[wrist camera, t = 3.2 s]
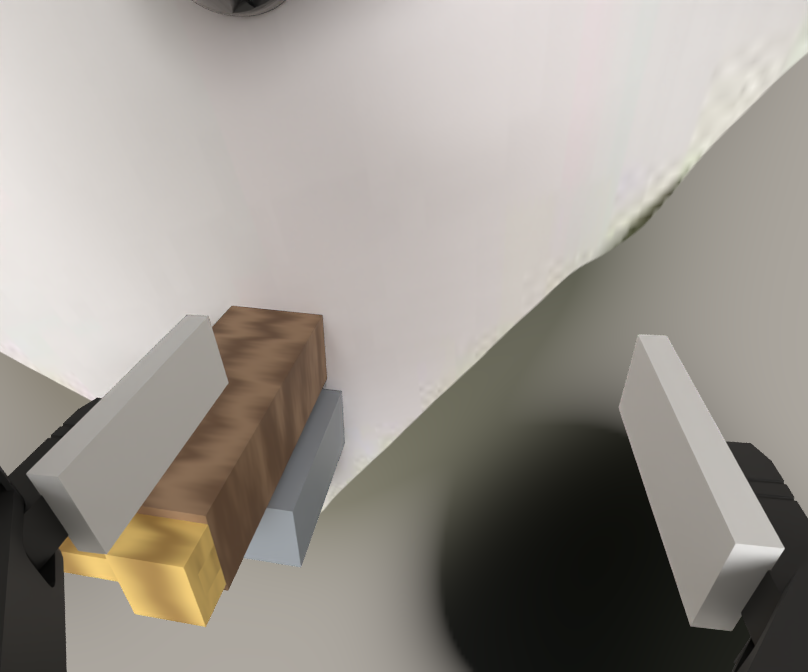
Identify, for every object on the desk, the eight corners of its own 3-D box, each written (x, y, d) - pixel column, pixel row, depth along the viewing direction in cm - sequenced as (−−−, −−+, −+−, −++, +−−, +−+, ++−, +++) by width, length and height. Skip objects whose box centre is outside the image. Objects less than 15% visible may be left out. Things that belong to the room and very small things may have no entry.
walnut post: (243, 368, 68) (99, 568, 43) (231, 305, 62) (58, 493, 38) (326, 378, 67) (228, 590, 42) (322, 315, 61) (205, 516, 36)
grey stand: (255, 431, 74) (187, 548, 58) (245, 379, 69) (167, 492, 52) (344, 443, 73) (301, 567, 56) (341, 391, 67) (292, 511, 51)
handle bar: (-27, 541, 44) (-64, 577, 41) (-72, 480, 39) (-117, 517, 36) (226, 584, 41) (205, 626, 38) (207, 524, 37) (183, 567, 34)
